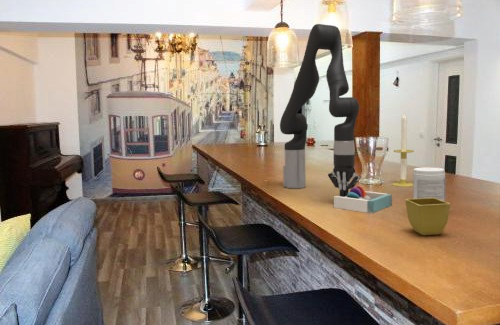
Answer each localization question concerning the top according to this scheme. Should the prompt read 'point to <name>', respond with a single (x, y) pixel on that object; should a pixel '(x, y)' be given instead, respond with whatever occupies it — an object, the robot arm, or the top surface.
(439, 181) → the supplement tub
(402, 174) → the candle
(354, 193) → the multicoloured petal flower toy
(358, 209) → the bay
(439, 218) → the flower pot
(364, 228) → the top surface
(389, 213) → the top surface
